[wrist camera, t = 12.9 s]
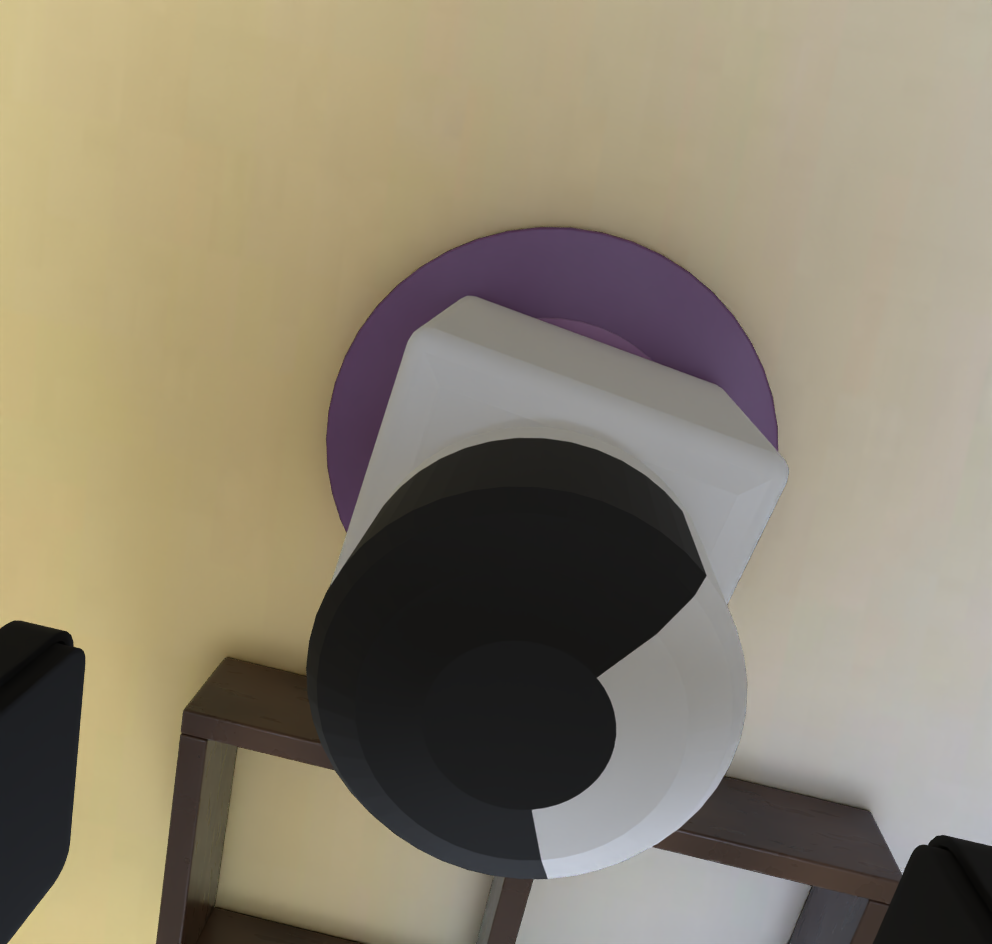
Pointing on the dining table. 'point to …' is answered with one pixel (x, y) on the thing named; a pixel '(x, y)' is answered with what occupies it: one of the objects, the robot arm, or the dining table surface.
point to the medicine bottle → (540, 598)
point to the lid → (558, 301)
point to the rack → (706, 835)
